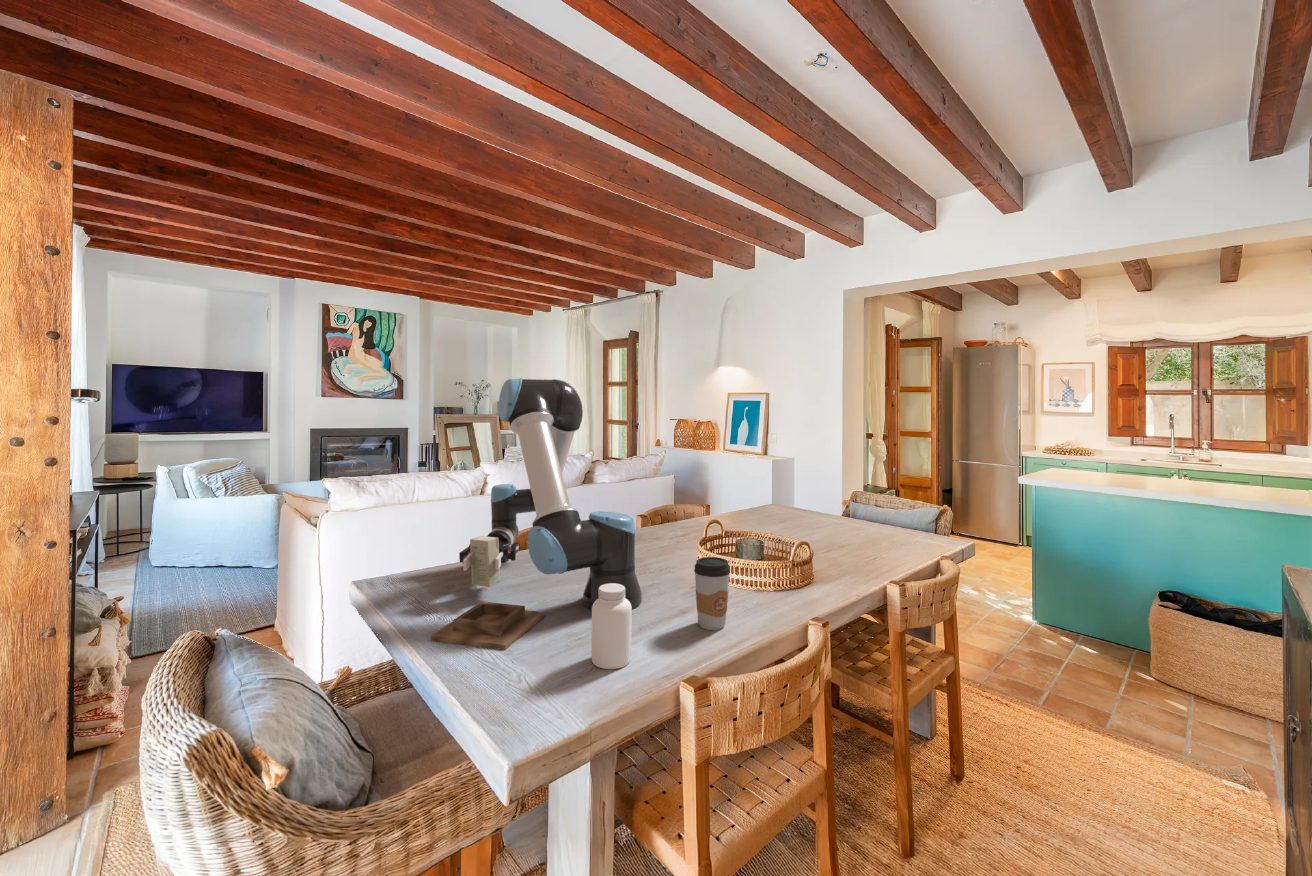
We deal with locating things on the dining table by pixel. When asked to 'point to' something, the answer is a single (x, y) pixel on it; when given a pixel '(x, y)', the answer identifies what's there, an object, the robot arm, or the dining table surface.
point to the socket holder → (489, 625)
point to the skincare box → (484, 561)
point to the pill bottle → (611, 627)
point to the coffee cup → (712, 591)
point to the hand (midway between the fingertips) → (481, 564)
